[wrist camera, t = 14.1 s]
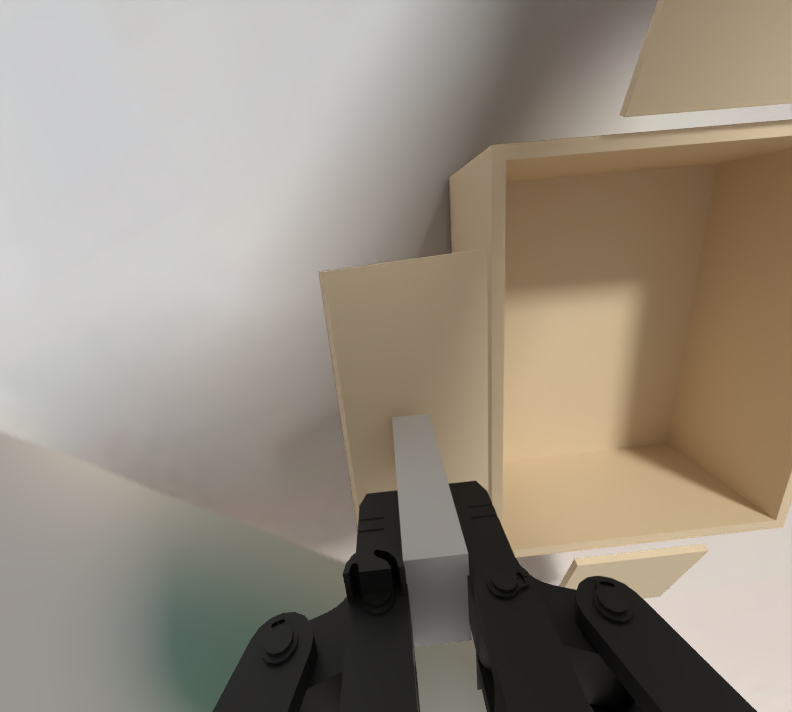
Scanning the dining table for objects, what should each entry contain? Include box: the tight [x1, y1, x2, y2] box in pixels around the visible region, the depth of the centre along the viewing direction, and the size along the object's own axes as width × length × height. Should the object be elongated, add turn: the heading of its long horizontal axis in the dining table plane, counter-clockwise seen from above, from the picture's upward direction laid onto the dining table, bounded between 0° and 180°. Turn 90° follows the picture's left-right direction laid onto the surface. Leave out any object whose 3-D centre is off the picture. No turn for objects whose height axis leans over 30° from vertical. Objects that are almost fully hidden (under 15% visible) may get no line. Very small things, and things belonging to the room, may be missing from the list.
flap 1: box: [319, 249, 488, 530], centre depth 16 cm, size 14×8×1 cm, turn 5°
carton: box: [449, 119, 792, 558], centre depth 23 cm, size 22×18×9 cm
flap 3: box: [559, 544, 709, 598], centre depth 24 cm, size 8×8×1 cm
